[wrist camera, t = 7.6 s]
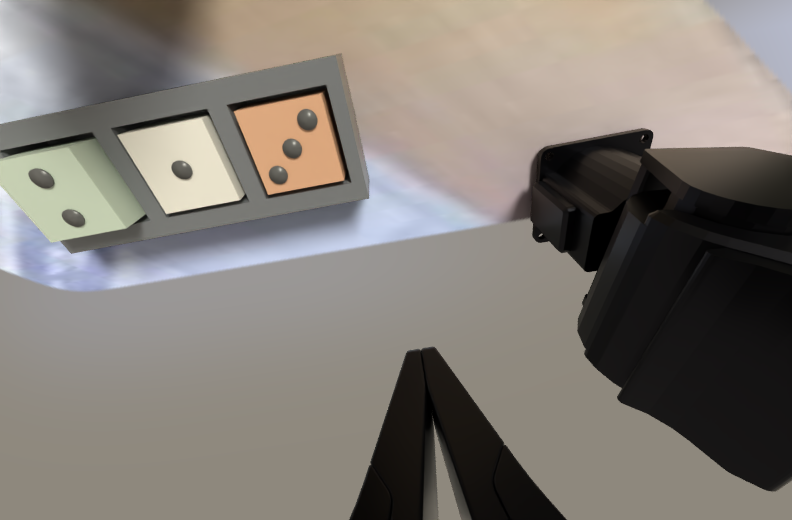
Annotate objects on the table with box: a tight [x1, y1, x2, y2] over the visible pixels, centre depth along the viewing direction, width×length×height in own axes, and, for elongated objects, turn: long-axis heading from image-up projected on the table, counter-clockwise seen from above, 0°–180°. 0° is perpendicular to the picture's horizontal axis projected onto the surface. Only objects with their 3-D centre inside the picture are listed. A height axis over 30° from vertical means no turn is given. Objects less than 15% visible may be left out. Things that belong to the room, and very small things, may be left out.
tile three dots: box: [234, 88, 347, 195], centre depth 17 cm, size 4×4×3 cm
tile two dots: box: [0, 137, 146, 242], centre depth 16 cm, size 4×4×3 cm
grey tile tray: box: [0, 54, 369, 254], centre depth 17 cm, size 17×7×3 cm, turn 100°
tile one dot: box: [117, 112, 246, 214], centre depth 17 cm, size 4×4×3 cm
